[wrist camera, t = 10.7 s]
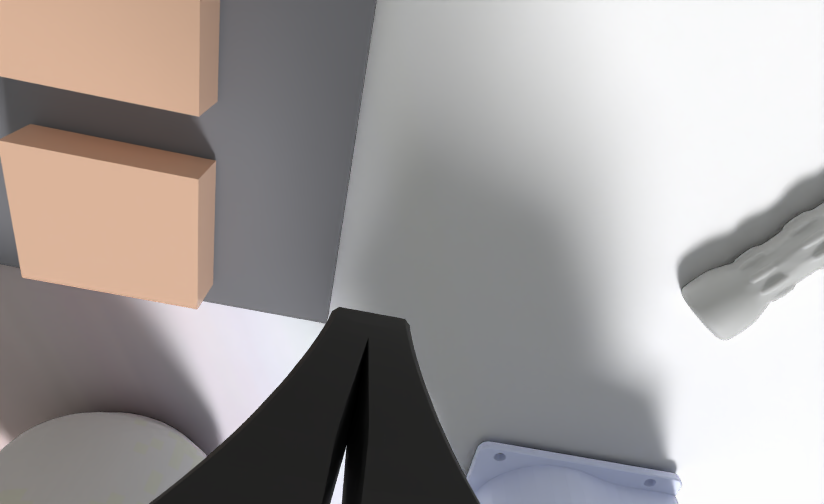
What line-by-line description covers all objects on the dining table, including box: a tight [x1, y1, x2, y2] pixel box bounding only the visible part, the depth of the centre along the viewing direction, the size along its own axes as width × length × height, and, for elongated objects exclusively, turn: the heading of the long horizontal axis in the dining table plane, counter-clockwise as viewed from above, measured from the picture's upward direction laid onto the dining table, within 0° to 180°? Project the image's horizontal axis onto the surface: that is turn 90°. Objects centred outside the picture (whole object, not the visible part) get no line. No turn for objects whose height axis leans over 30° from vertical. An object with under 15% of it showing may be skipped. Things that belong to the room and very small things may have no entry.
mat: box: [0, 0, 377, 323], centre depth 18 cm, size 14×14×1 cm
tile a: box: [0, 124, 216, 309], centre depth 19 cm, size 2×5×6 cm
